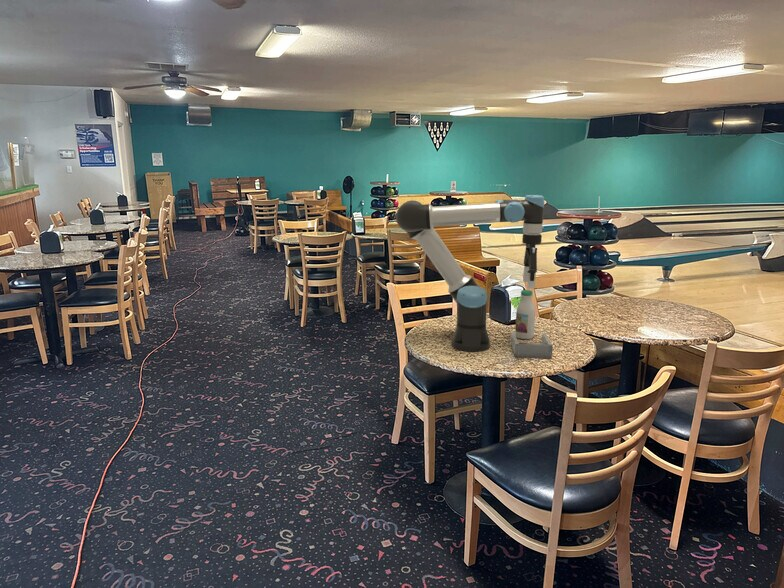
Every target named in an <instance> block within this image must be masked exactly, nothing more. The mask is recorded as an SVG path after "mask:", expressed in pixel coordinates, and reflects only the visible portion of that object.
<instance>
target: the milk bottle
mask: <svg viewBox="0 0 784 588" xmlns="http://www.w3.org/2000/svg"><path fill="white" fill-rule="evenodd" d="M520 296H521V298H520V301H519V303H518V305H517V308H516V314H515V335H516V338H517V339H521V340H531V339H533V338H534V336H535V326H536V325H535V322H536V307H535V305H534V302H533V299H532V298H533V291H532V290H531V289H522V290H521V291H520Z"/></svg>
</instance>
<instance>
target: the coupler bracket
mask: <svg viewBox="0 0 784 588" xmlns="http://www.w3.org/2000/svg"><path fill="white" fill-rule="evenodd" d="M510 333H511V335H510V345H511V348H512V351H513V354H514V357H515V358H525V359H553V348H554V347H553V344H552V342H551V340H550V339H549V337H548V335H547V333H546V332H542V333H541V343H540V342H519V340H518V338H517V337H516V335H515V332H514V331H511V332H510Z"/></svg>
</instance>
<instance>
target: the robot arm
mask: <svg viewBox="0 0 784 588" xmlns="http://www.w3.org/2000/svg"><path fill="white" fill-rule="evenodd" d="M544 212H545V197H544V196H543V195H540V194H531V195H530V194H526V195H525V197H524V199H518V200H517V199H496V200H495V201H494V202H488V203H486V202H485V203H467V204H452V205H441V206H440V205H439V206H438V205H437V206H433V205H432V204H430V203H428V204H427V203H426V204H423V203H421V202H420V201H417V200H412V199H411V200H408V201H405V202H403V203H402V204H401V205H400V207H398V209H397V211H396V214H395V220H396V224H397V225H398V227H399V228H400V229H401V230H403V231H405V232H406V234H407V235H408V236H409V238H410V239H411V240H415V241H417V243H418V244H419V246H420V247H421V248H422V250H423V251H424V253H425V254H426V256H427V257H428V258H429V260H430V261H431V263H432V265H433V266H434V267H435V269H436V270H437V271H438V273H439V274H440V275H441V277H442V278H443V279H444V282H445V283H446V284H447V285H448V293H449V295H450V296H451V297H452V299H453V300H454V301H455V303H456V328H455V331H454V333H453V336H452V340H451V347H453V348H454V349H456V350H459V351H464V352H483V351H487V350H489V349H490V346H491V340H490V337H489V333H488V329H487V311H488V306H487V305H488V299H489V298H488V292H487V290H486V289H485V288H483V287H481V286H480V285H479V284H478V283H477V282H476V280H474V278H473V276H472V275H469V274H467V273H465V271H464V270H463V269H462V266H461V265H460V264H459V263H458V260H456V259H455V256H454V255H453V254H452V252H451V251H450V250H449V248H448V246H447V245H446V244H445V242H444V241H443V240H442V238H441V237H440V235H439V234H438V233H437V230H435V227H444V226H445V227H447V226H464V225H475V224H476V225H477V224H479V225H480V224H492V223H493V224H494V223H511V224H512V223H518V222H520V221H522V219H523V223H522V233H523V234H522V240H521V242H522V244H524V245H525V251H524V258H523V279H522V282H523V283H527V288H526V289H527V290H532V289H533V290H535V287H536V286H535V285H536V274H537V272H538V268H537V267H538V265H537V263H538V261H537V260H538V248H537V247H536V245H541V244H542V237H543V235H542V234H543V229H544V228H545V227H544V225H543V222H544Z"/></svg>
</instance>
